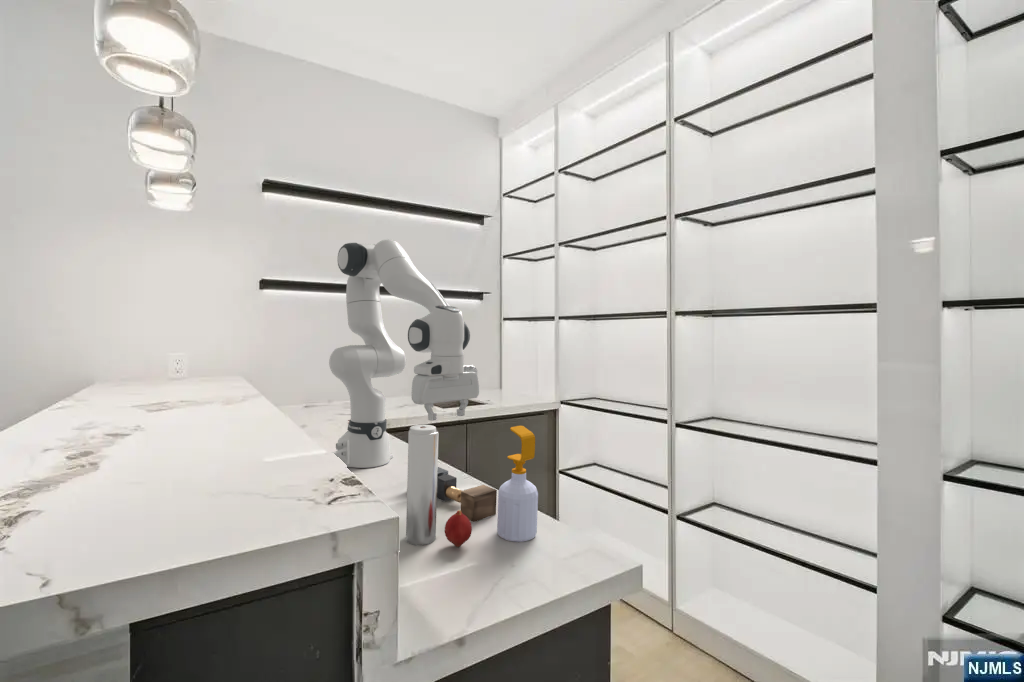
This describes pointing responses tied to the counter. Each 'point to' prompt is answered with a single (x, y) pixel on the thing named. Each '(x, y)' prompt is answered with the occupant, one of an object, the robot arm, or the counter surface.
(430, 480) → the silver metal cylinder
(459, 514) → the onion
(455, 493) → the hammer
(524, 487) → the soap bottle
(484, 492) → the socket
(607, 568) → the counter surface
